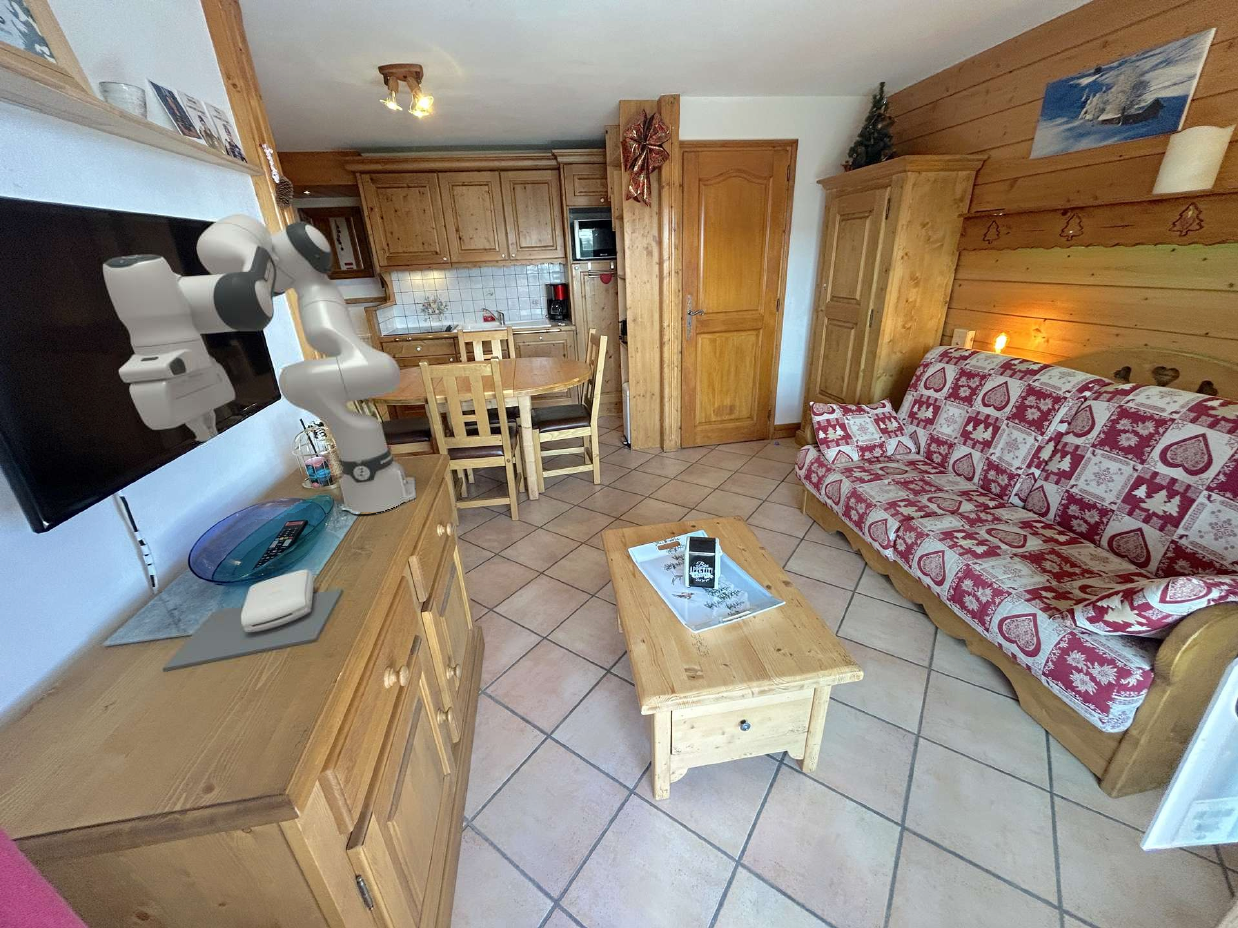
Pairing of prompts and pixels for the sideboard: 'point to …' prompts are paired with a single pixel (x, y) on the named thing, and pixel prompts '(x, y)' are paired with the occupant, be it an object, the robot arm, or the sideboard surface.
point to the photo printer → (278, 601)
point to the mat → (251, 634)
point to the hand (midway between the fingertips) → (208, 438)
